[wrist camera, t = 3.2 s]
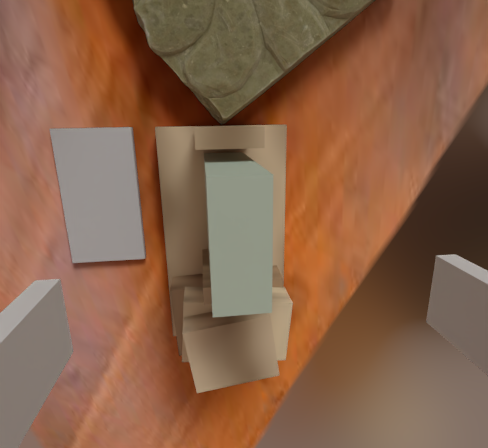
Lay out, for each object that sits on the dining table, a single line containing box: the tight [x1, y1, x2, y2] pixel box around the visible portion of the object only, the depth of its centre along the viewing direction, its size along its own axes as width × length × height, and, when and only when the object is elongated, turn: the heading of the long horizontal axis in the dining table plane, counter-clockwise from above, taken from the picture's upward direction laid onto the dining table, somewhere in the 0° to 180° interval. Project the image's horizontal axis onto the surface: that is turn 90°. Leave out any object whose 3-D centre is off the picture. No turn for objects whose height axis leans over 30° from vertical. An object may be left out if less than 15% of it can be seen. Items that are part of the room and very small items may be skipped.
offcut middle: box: [182, 287, 293, 362], centre depth 27 cm, size 8×5×2 cm, turn 86°
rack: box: [155, 125, 287, 336], centre depth 26 cm, size 10×18×9 cm, turn 1°
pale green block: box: [204, 152, 273, 317], centre depth 22 cm, size 3×7×12 cm, turn 1°
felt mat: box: [50, 127, 146, 263], centre depth 28 cm, size 6×11×1 cm, turn 1°
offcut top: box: [182, 312, 279, 393], centre depth 25 cm, size 6×5×2 cm
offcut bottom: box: [170, 265, 283, 356], centre depth 29 cm, size 9×6×2 cm, turn 94°
